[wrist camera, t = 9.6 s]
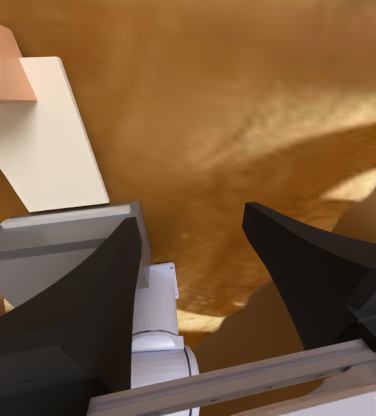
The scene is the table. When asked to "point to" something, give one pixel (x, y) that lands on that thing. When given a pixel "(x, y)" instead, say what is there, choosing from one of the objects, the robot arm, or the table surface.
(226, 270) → the table surface
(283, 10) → the table surface
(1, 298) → the milk carton
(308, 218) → the table surface
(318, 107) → the table surface
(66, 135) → the peach block on base
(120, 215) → the dispenser
